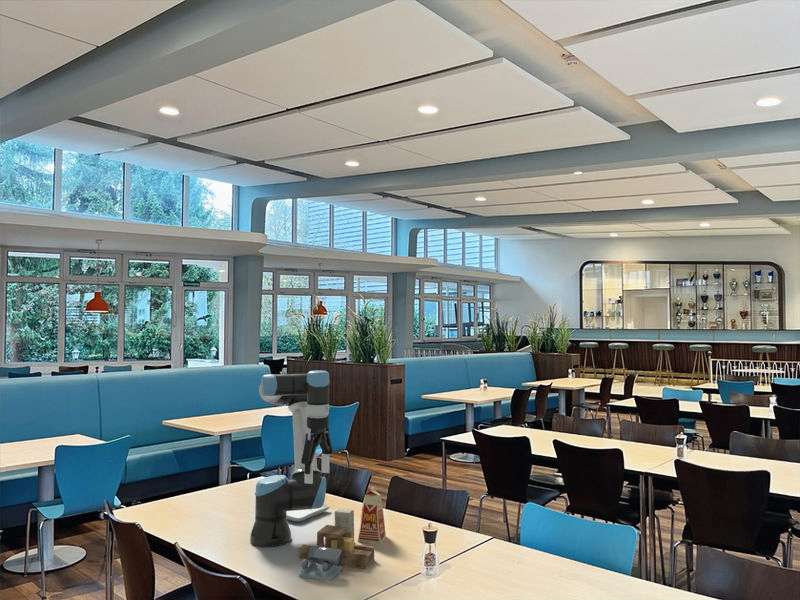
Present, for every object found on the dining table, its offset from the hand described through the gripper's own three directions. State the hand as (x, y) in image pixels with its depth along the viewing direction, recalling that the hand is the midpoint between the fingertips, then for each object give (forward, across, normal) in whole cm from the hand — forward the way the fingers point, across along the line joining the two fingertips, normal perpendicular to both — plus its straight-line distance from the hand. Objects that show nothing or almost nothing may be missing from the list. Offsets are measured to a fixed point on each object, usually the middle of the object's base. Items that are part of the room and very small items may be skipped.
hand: (317, 477), depth 218 cm
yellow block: (+26, +4, -8) cm, 27 cm away
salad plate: (+32, +47, +31) cm, 65 cm away
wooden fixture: (+29, +4, -5) cm, 30 cm away
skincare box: (+30, +20, -2) cm, 36 cm away
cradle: (+29, -8, -5) cm, 30 cm away
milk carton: (+30, +28, -10) cm, 42 cm away
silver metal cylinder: (+25, -8, -7) cm, 27 cm away
